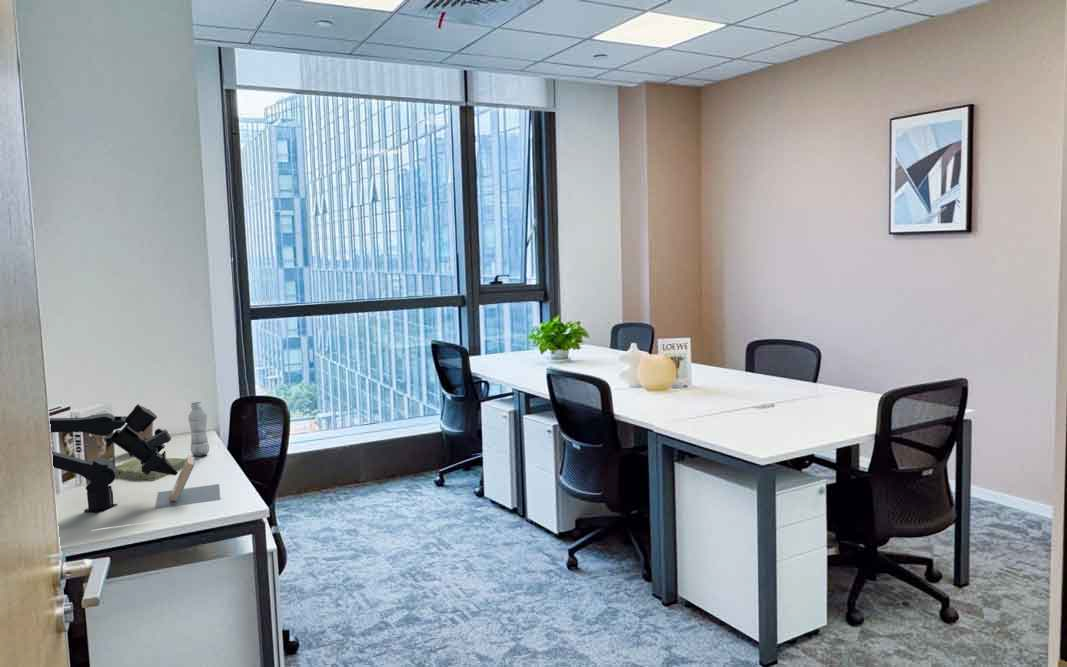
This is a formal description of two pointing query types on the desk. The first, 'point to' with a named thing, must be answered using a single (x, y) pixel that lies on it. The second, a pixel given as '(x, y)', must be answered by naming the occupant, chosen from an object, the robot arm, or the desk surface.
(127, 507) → the desk surface
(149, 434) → the coffee cup
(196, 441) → the plastic bottle
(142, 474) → the decorative tile
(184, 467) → the tile
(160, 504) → the mat
